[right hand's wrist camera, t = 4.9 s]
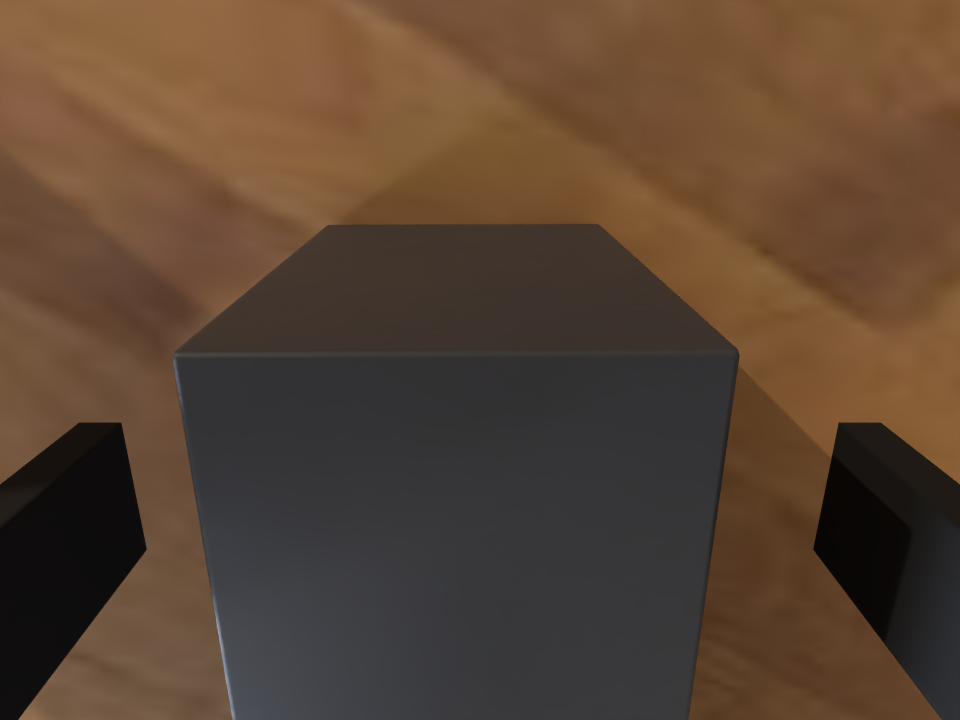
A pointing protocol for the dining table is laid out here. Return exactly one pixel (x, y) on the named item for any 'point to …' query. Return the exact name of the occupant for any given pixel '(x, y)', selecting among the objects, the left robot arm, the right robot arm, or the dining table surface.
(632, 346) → the charcoal box
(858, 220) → the dining table surface
